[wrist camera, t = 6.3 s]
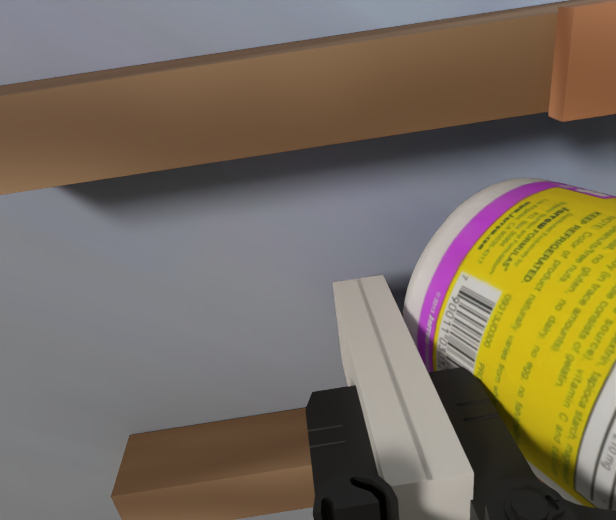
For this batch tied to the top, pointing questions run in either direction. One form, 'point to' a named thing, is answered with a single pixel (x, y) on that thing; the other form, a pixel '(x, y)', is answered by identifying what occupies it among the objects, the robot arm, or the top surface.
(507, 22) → the wooden frame
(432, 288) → the supplement bottle
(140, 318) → the top surface
